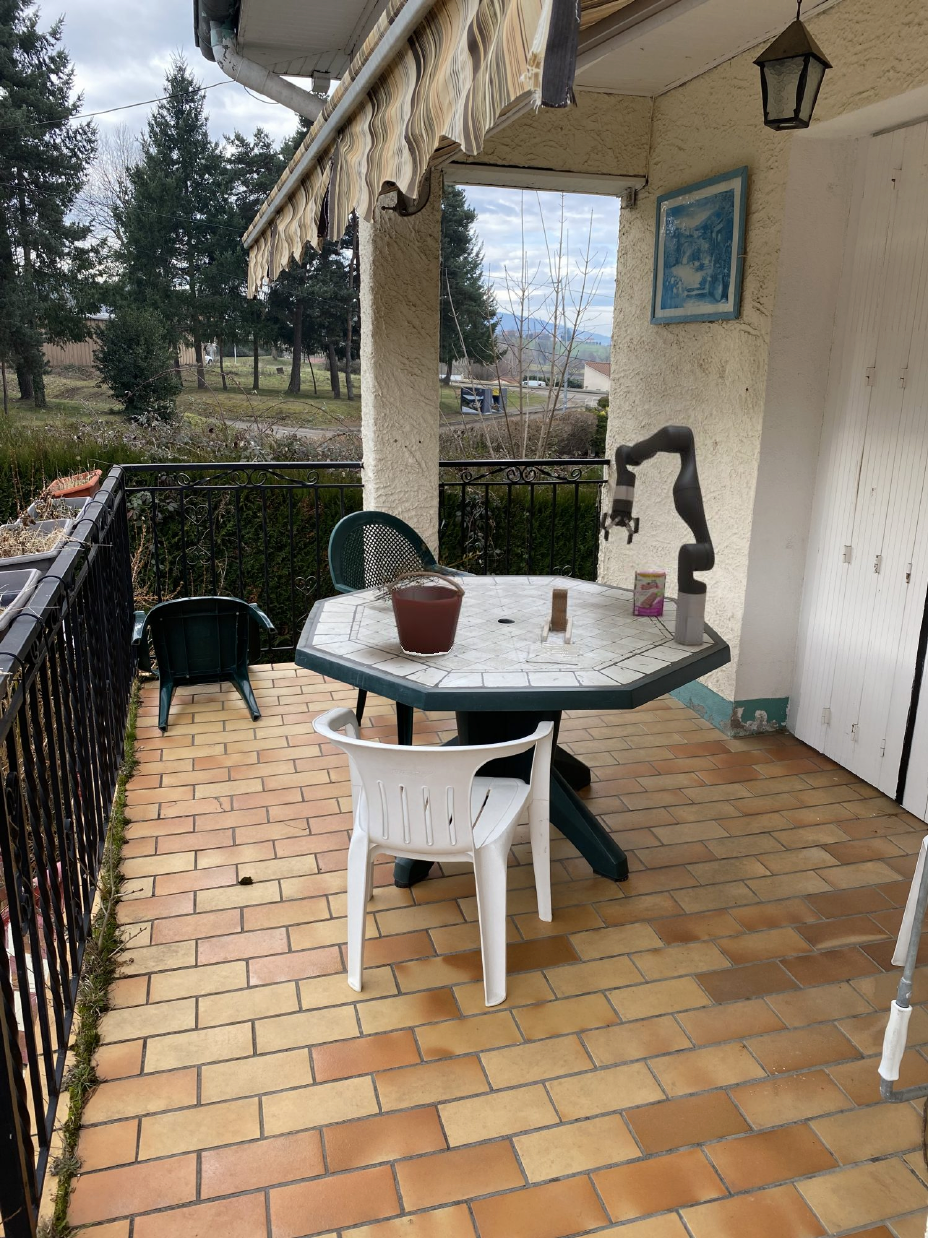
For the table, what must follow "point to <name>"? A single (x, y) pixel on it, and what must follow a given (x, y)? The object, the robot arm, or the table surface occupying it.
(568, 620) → the chute
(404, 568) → the dried plant
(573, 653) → the mat
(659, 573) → the candy bar box
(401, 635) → the bucket
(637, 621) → the table surface
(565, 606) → the walnut block
